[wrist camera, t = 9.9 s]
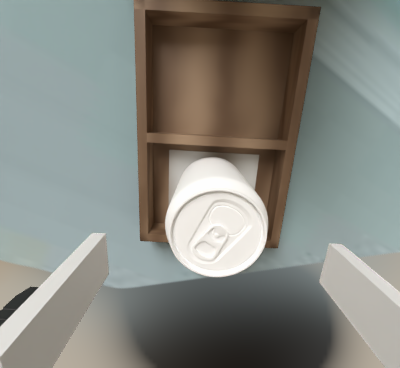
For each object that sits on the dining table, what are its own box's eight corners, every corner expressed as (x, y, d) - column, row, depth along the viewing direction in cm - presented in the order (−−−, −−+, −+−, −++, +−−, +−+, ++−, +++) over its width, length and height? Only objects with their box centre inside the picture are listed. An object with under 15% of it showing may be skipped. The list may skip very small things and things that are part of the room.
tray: (147, 227, 29) (140, 240, 25) (144, 15, 22) (133, -5, 19) (268, 233, 29) (277, 248, 26) (302, 25, 22) (320, 6, 19)
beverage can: (255, 179, 26) (298, 222, 15) (218, 227, 28) (229, 299, 16) (202, 142, 25) (203, 158, 13) (167, 195, 27) (140, 248, 15)
